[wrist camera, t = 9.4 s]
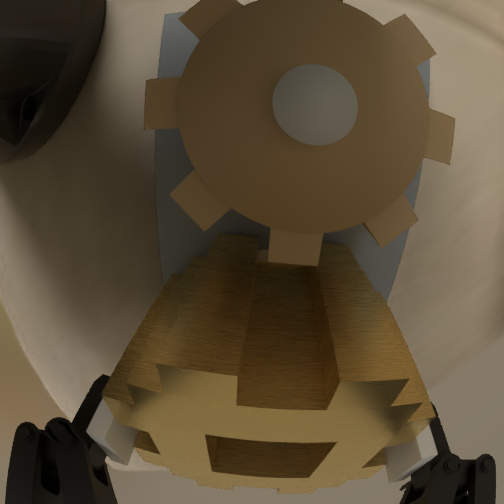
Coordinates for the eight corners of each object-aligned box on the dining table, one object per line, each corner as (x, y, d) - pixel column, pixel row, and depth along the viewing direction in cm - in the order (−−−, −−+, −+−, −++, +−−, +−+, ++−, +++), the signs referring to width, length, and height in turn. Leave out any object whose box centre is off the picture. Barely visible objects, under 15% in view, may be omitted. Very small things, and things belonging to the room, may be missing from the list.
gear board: (180, 349, 18) (148, 435, 12) (175, 24, 10) (96, -37, 3) (350, 363, 18) (367, 452, 11) (415, 50, 9) (507, 17, 3)
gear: (185, 377, 17) (155, 474, 10) (169, 229, 12) (75, 340, 6) (340, 390, 16) (353, 489, 10) (393, 250, 12) (473, 369, 5)
